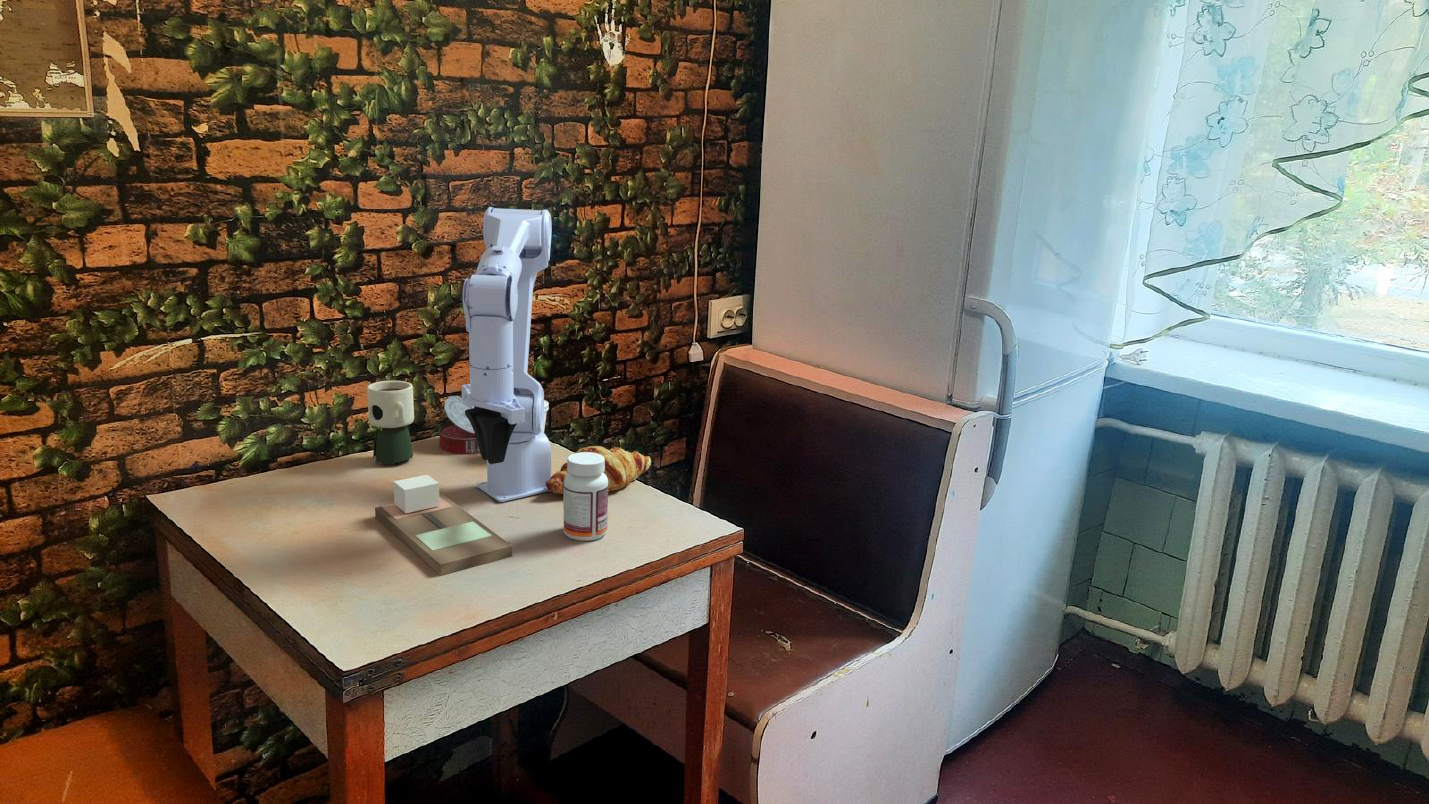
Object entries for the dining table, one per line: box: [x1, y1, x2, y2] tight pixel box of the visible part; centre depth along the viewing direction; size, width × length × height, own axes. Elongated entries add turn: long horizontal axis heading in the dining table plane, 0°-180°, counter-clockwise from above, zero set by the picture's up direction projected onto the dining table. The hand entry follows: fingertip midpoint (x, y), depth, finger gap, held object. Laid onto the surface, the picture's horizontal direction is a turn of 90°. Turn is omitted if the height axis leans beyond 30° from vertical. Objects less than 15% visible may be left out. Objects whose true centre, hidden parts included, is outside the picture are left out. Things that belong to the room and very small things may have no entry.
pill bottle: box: [563, 452, 609, 542], centre depth 132 cm, size 6×6×11 cm
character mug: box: [366, 380, 415, 465], centre depth 156 cm, size 11×7×13 cm, turn 37°
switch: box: [374, 493, 513, 576], centre depth 130 cm, size 10×22×2 cm, turn 40°
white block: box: [393, 474, 440, 513], centre depth 135 cm, size 5×4×4 cm
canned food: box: [438, 395, 480, 455], centre depth 166 cm, size 11×10×10 cm
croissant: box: [546, 445, 652, 495], centre depth 151 cm, size 21×10×8 cm, turn 138°
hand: (492, 460), depth 130 cm, fingers closed
